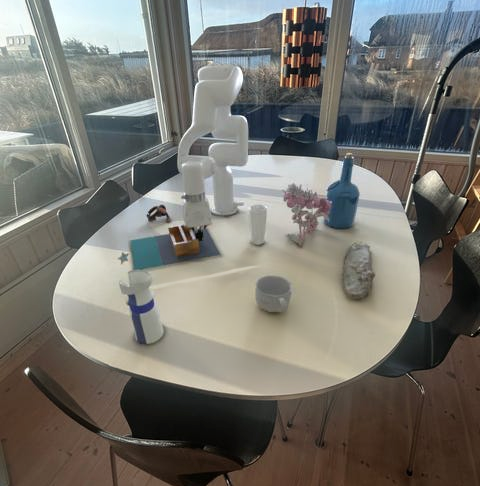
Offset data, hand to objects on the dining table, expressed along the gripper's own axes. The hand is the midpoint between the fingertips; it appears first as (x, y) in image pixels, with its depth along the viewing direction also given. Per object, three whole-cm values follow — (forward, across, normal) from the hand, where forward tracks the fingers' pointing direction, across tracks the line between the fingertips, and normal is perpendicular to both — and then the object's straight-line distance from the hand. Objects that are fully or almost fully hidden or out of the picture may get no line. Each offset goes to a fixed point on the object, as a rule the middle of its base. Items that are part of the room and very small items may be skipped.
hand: (199, 239), depth 130 cm
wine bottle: (+2, +62, -4) cm, 62 cm away
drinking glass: (+2, +22, -7) cm, 24 cm away
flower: (+2, +43, -7) cm, 44 cm away
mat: (+2, -11, 0) cm, 11 cm away
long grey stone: (+2, +47, -39) cm, 61 cm away
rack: (+1, -6, 0) cm, 7 cm away
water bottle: (+2, -25, -45) cm, 51 cm away
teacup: (+2, +12, -47) cm, 49 cm away
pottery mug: (+2, -12, +28) cm, 31 cm away
